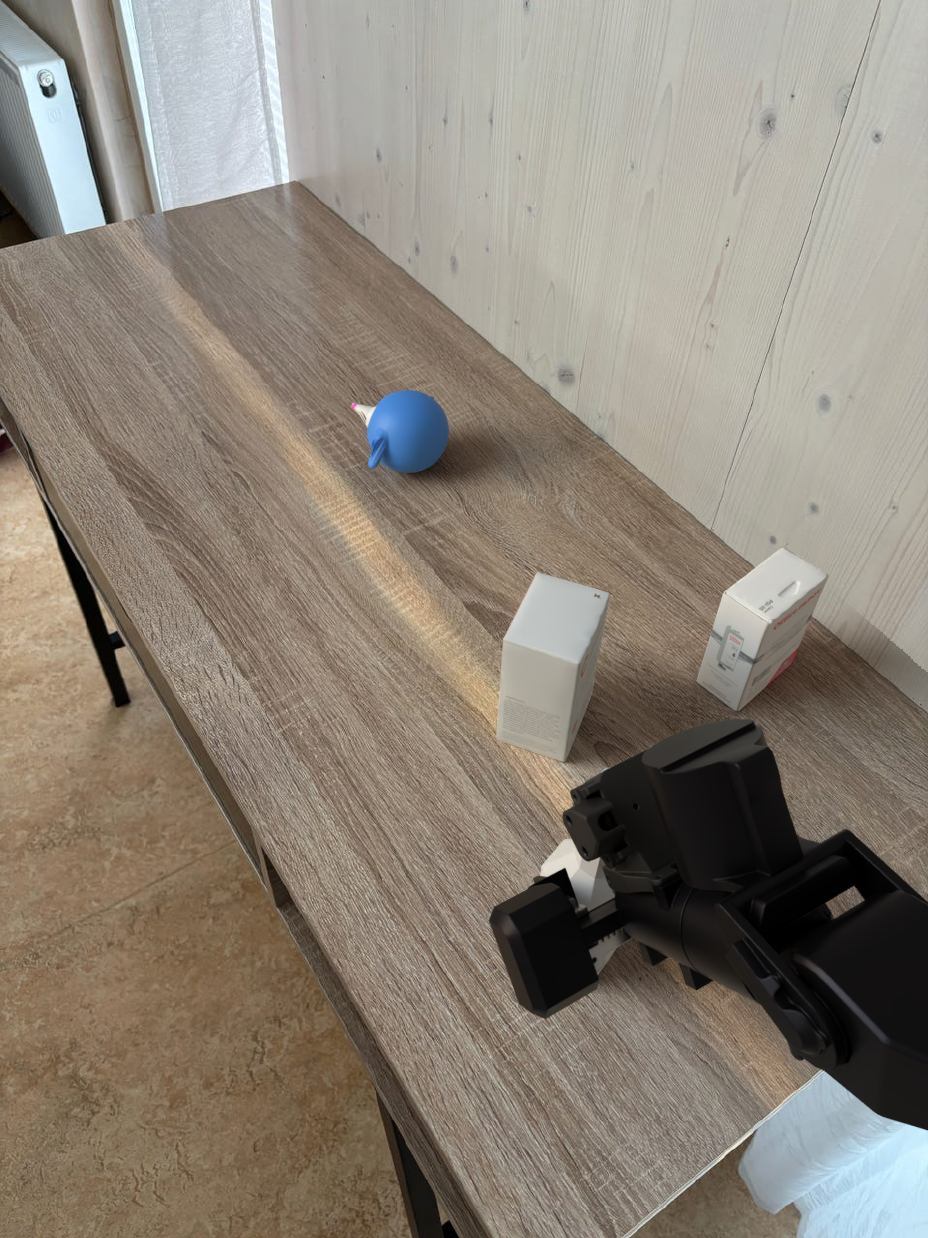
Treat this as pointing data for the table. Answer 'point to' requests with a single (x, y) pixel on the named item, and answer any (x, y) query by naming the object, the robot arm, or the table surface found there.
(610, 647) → the table surface
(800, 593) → the ink box
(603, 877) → the faceted bottle
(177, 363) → the table surface
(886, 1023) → the robot arm
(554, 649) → the small box
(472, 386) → the table surface
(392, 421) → the blue mole toy
